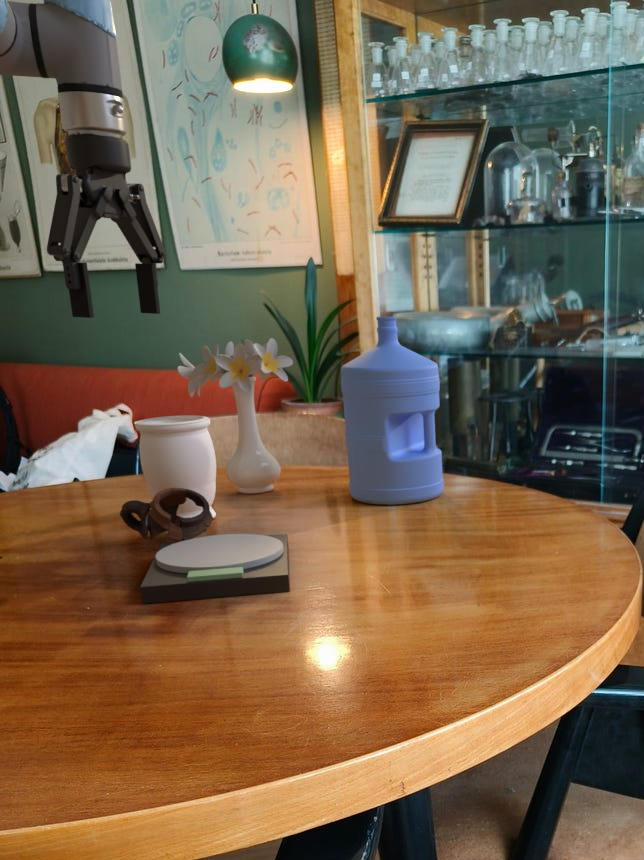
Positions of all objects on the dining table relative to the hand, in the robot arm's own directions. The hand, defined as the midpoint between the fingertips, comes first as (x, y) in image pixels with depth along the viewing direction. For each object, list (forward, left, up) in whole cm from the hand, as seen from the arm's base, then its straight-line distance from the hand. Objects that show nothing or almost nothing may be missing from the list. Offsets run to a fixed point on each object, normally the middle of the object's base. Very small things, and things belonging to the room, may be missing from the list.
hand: (118, 315), depth 120 cm
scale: (+12, -27, -29) cm, 42 cm away
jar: (+5, +4, -30) cm, 30 cm away
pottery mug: (+4, -9, -30) cm, 31 cm away
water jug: (+38, +11, -30) cm, 49 cm away
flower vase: (+14, +23, -30) cm, 40 cm away
